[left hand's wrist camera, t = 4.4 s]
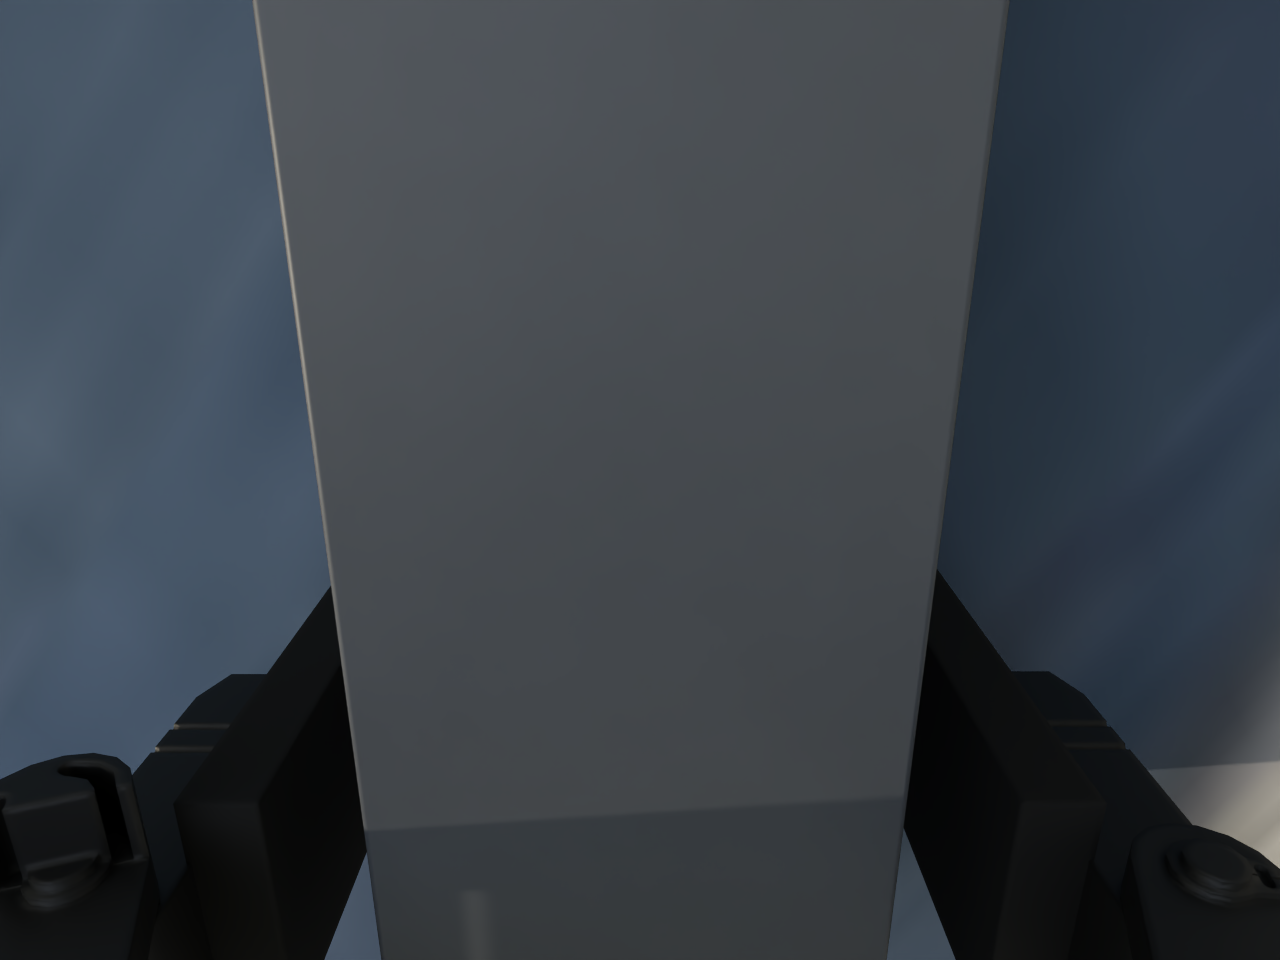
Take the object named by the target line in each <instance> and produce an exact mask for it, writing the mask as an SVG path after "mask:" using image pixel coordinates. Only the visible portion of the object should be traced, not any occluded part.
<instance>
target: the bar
mask: <svg viewBox="0 0 1280 960" xmlns="http://www.w3.org/2000/svg"><path fill="white" fill-rule="evenodd" d="M1009 1H1010V0H252V2H253V10H254V17H255V25H256V32H257V39H258V47H259V54H260V62H261V69H262V77H263V84H264V91H265V99H266V106H267V114H268V121H269V128H270V136H271V143H272V151H273V158H274V166H275V173H276V180H277V188H278V195H279V203H280V210H281V218H282V225H283V232H284V240H285V247H286V255H287V262H288V270H289V277H290V284H291V292H292V299H293V307H294V314H295V321H296V329H297V336H298V344H299V351H300V359H301V366H302V373H303V381H304V388H305V396H306V403H307V411H308V418H309V425H310V433H311V440H312V448H313V455H314V463H315V470H316V477H317V485H318V492H319V500H320V507H321V514H322V522H323V529H324V537H325V544H326V552H327V559H328V566H329V574H330V581H331V589H332V596H333V604H334V611H335V618H336V626H337V633H338V641H339V648H340V656H341V663H342V670H343V678H344V685H345V693H346V700H347V707H348V715H349V722H350V730H351V737H352V745H353V752H354V759H355V767H356V774H357V782H358V789H359V797H360V804H361V811H362V819H363V826H364V834H365V841H366V849H367V856H368V863H369V871H370V878H371V886H372V893H373V900H374V908H375V915H376V923H377V930H378V938H379V945H380V952H381V960H886V959H887V952H888V944H889V936H890V928H891V921H892V913H893V905H894V897H895V889H896V882H897V874H898V866H899V858H900V850H901V843H902V835H903V827H904V819H905V811H906V804H907V796H908V788H909V780H910V773H911V765H912V757H913V749H914V741H915V734H916V726H917V718H918V710H919V702H920V695H921V687H922V679H923V671H924V663H925V656H926V648H927V640H928V632H929V625H930V617H931V609H932V601H933V593H934V586H935V578H936V570H937V562H938V554H939V547H940V539H941V531H942V523H943V516H944V508H945V500H946V492H947V484H948V477H949V469H950V461H951V453H952V445H953V438H954V430H955V422H956V414H957V406H958V399H959V391H960V383H961V375H962V368H963V360H964V352H965V344H966V336H967V329H968V321H969V313H970V305H971V297H972V290H973V282H974V274H975V266H976V258H977V251H978V243H979V235H980V227H981V220H982V212H983V204H984V196H985V188H986V181H987V173H988V165H989V157H990V149H991V142H992V134H993V126H994V118H995V110H996V103H997V95H998V87H999V79H1000V72H1001V64H1002V56H1003V48H1004V40H1005V33H1006V25H1007V17H1008V9H1009Z"/></svg>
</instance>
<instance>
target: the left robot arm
mask: <svg viewBox="0 0 1280 960" xmlns="http://www.w3.org/2000/svg"><path fill="white" fill-rule="evenodd" d="M904 830H905V832H906V835H907V837H908V840H909V842H910V845H911V847H912V850H913V852H914V855H915V858H916V860H917V863H918V865H919V868H920V870H921V873H922V875H923V878H924V880H925V883H926V885H927V888H928V890H929V893H930V896H931V898H932V901H933V903H934V906H935V908H936V911H937V913H938V916H939V918H940V921H941V923H942V926H943V928H944V931H945V934H946V936H947V939H948V941H949V944H950V946H951V949H952V951H953V954H954V956H955V959H956V960H1280V869H1279V868H1278V867H1277V866H1276V865H1274V864H1273V863H1272V862H1271V861H1269V860H1268V859H1267V858H1266V857H1264V856H1263V855H1262V854H1261V853H1260V852H1258V851H1256V850H1254V849H1253V848H1251V847H1249V846H1247V845H1245V844H1243V843H1241V842H1239V841H1237V840H1236V839H1234V838H1232V837H1230V836H1228V835H1225V834H1222V833H1218V832H1215V831H1212V830H1209V829H1206V828H1203V827H1200V826H1196V825H1192V824H1191V823H1190V821H1189V820H1188V819H1187V818H1186V817H1185V815H1184V814H1183V813H1182V812H1181V811H1180V809H1179V808H1178V807H1177V806H1176V805H1175V803H1174V802H1173V801H1172V800H1171V799H1170V797H1169V796H1168V795H1167V794H1166V792H1165V791H1164V790H1163V789H1162V788H1161V786H1160V785H1159V784H1158V783H1157V782H1156V780H1155V779H1154V778H1153V777H1152V776H1151V774H1150V773H1149V772H1148V771H1147V770H1146V768H1145V767H1144V766H1143V765H1142V764H1141V762H1140V761H1139V760H1138V759H1137V758H1136V756H1135V755H1134V754H1133V753H1132V752H1131V750H1126V748H1125V743H1124V742H1123V741H1122V739H1121V738H1120V737H1119V736H1118V735H1117V733H1116V732H1115V731H1114V730H1113V729H1112V727H1107V724H1106V720H1105V719H1104V718H1103V717H1102V715H1101V714H1100V713H1099V712H1098V711H1097V709H1096V708H1095V707H1094V706H1093V705H1092V703H1091V702H1090V701H1089V700H1088V699H1087V697H1086V696H1085V695H1084V694H1083V693H1081V692H1080V691H1078V690H1077V689H1075V688H1073V687H1072V686H1070V685H1069V684H1067V683H1066V682H1064V681H1063V680H1061V679H1060V678H1058V677H1057V676H1055V675H1054V674H1052V673H1051V672H1049V671H1010V669H1009V668H1008V666H1007V665H1006V664H1005V662H1004V661H1003V659H1002V658H1001V657H1000V655H999V654H998V653H997V651H996V650H995V648H994V647H993V646H992V644H991V643H990V642H989V640H988V639H987V637H986V636H985V635H984V633H983V632H982V630H981V629H980V628H979V626H978V625H977V624H976V622H975V621H974V619H973V618H972V617H971V615H970V614H969V613H968V611H967V610H966V608H965V607H964V606H963V604H962V603H961V602H960V600H959V599H958V597H957V596H956V595H955V593H954V592H953V590H952V589H951V588H950V586H949V585H948V584H947V582H946V581H945V579H944V578H943V577H942V575H941V574H940V573H939V571H938V570H936V578H935V586H934V593H933V601H932V609H931V617H930V625H929V632H928V640H927V648H926V656H925V663H924V671H923V679H922V687H921V695H920V702H919V710H918V718H917V726H916V734H915V741H914V749H913V757H912V765H911V773H910V780H909V788H908V796H907V804H906V811H905V819H904ZM366 852H367V849H366V841H365V834H364V826H363V819H362V811H361V804H360V797H359V789H358V782H357V774H356V767H355V759H354V752H353V745H352V737H351V730H350V722H349V715H348V707H347V700H346V693H345V685H344V678H343V670H342V663H341V656H340V648H339V641H338V633H337V626H336V618H335V611H334V604H333V596H332V589H331V586H330V588H329V589H328V590H327V592H326V593H325V595H324V596H323V597H322V599H321V600H320V602H319V603H318V604H317V606H316V607H315V608H314V610H313V611H312V613H311V614H310V615H309V617H308V618H307V619H306V621H305V622H304V624H303V625H302V626H301V628H300V629H299V630H298V632H297V633H296V635H295V636H294V637H293V639H292V640H291V642H290V643H289V644H288V646H287V647H286V648H285V650H284V651H283V653H282V654H281V655H280V657H279V658H278V659H277V661H276V662H275V664H274V665H273V666H272V668H271V669H270V670H269V672H268V673H267V674H231V675H230V676H228V677H227V678H225V679H224V680H222V681H220V682H219V683H217V684H216V685H214V686H213V687H211V688H210V689H208V690H207V691H205V692H204V693H202V694H201V695H199V696H198V697H196V698H195V700H194V701H193V702H192V703H191V705H190V706H189V707H188V708H187V709H186V711H185V712H184V713H183V714H182V715H181V717H180V718H179V719H178V720H177V721H176V723H175V724H174V729H173V730H169V731H168V732H167V734H166V735H165V736H164V737H163V738H162V740H161V741H160V742H159V743H158V745H157V746H156V750H155V753H150V754H149V755H148V757H147V758H146V759H145V760H144V762H143V763H142V764H141V765H140V766H139V768H138V769H137V770H136V771H135V772H134V774H133V775H132V774H131V769H130V767H128V766H127V765H126V764H125V763H123V762H122V761H121V760H120V759H118V758H117V757H113V756H107V755H102V754H96V753H89V754H78V755H66V756H61V757H58V758H54V759H51V760H47V761H44V762H40V763H37V764H33V765H30V766H28V767H26V768H24V769H22V770H20V771H17V772H15V773H13V774H11V775H9V776H7V777H5V778H2V779H0V960H324V959H325V956H326V954H327V951H328V949H329V946H330V944H331V941H332V939H333V936H334V934H335V931H336V928H337V926H338V923H339V921H340V918H341V916H342V913H343V911H344V908H345V906H346V903H347V901H348V898H349V895H350V893H351V890H352V888H353V885H354V883H355V880H356V878H357V875H358V873H359V870H360V868H361V865H362V863H363V860H364V857H365V855H366Z"/></svg>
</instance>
